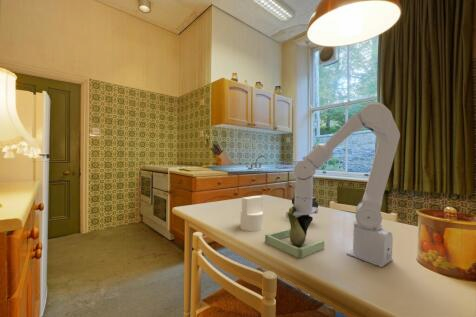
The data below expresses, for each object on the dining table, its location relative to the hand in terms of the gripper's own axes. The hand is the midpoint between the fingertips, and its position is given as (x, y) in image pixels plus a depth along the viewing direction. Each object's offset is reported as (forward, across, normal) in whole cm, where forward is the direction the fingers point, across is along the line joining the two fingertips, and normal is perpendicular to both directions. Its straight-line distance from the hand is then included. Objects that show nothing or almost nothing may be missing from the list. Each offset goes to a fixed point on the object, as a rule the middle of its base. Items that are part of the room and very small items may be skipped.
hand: (301, 237), depth 74 cm
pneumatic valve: (+2, -21, -15) cm, 26 cm away
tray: (+2, +4, 0) cm, 5 cm away
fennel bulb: (+1, +3, +1) cm, 3 cm away
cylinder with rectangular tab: (+2, +5, -21) cm, 21 cm away
